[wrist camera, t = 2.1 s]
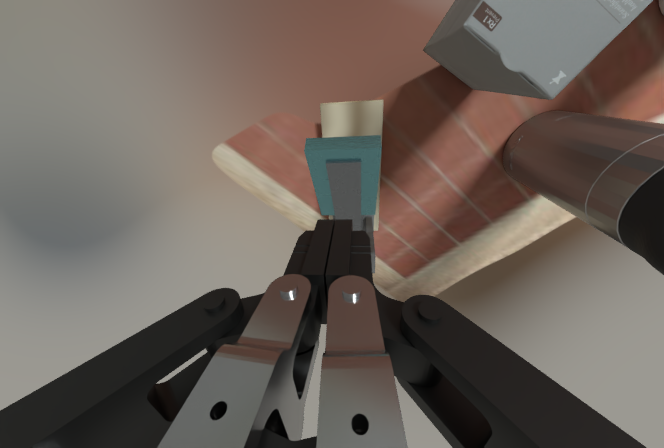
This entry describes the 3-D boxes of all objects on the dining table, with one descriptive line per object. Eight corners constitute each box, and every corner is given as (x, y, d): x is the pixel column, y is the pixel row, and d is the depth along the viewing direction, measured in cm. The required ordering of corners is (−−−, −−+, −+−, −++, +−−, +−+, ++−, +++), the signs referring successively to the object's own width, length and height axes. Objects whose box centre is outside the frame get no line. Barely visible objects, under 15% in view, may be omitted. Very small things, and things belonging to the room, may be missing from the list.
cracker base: (382, 99, 31) (394, 107, 20) (377, 225, 40) (383, 278, 29) (321, 103, 32) (301, 113, 21) (330, 225, 41) (320, 276, 30)
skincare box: (518, 35, 26) (686, -18, 13) (467, 97, 30) (556, 108, 16) (461, -18, 25) (583, -142, 11) (414, 54, 28) (464, 27, 15)
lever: (373, 117, 24) (382, 138, 15) (370, 253, 32) (374, 320, 23) (324, 120, 25) (303, 141, 15) (334, 253, 33) (324, 317, 24)
